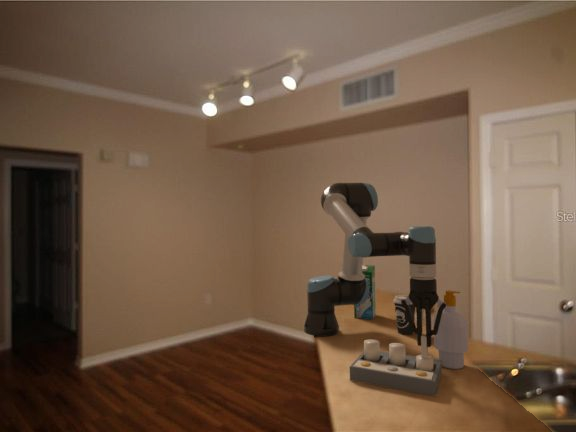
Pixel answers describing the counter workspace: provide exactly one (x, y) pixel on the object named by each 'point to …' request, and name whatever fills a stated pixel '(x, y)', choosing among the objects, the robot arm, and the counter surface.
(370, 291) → the milk carton
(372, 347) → the button
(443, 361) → the soap bottle
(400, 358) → the button
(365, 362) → the board
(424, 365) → the button
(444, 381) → the counter surface
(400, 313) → the coffee cup
